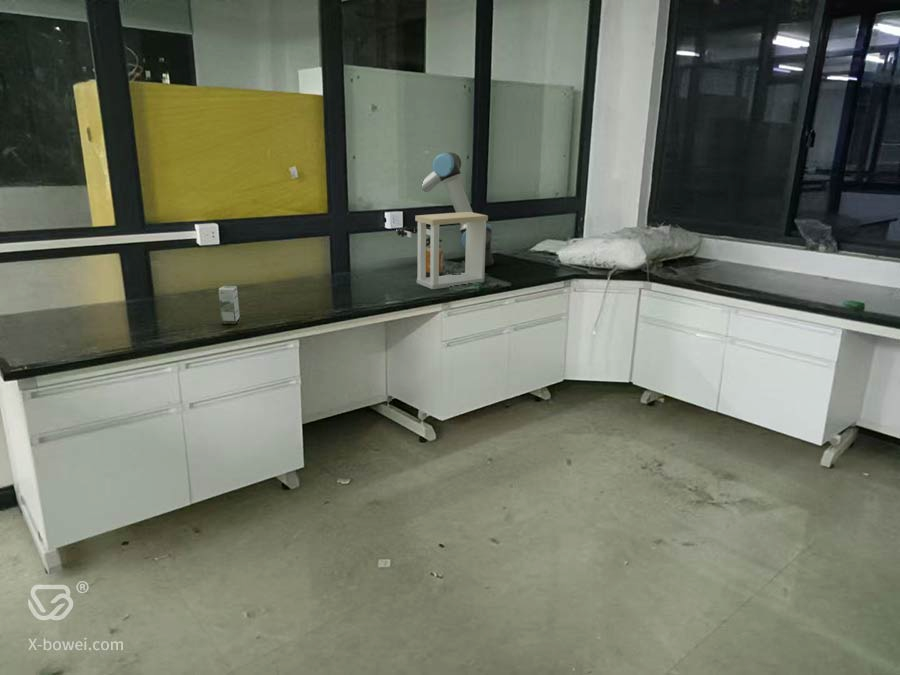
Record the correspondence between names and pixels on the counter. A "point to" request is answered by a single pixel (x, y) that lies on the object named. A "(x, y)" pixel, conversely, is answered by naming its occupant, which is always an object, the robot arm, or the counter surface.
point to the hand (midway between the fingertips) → (422, 234)
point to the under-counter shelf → (472, 255)
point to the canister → (429, 258)
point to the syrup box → (229, 303)
